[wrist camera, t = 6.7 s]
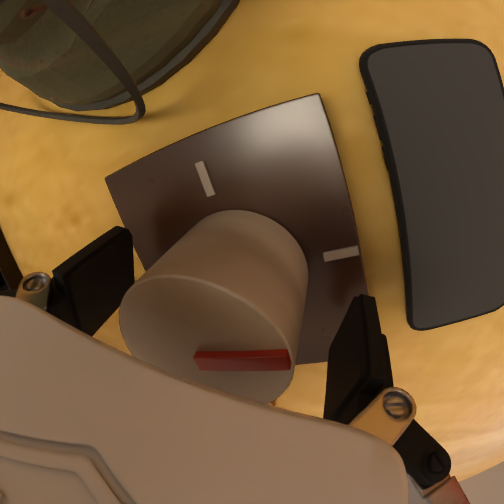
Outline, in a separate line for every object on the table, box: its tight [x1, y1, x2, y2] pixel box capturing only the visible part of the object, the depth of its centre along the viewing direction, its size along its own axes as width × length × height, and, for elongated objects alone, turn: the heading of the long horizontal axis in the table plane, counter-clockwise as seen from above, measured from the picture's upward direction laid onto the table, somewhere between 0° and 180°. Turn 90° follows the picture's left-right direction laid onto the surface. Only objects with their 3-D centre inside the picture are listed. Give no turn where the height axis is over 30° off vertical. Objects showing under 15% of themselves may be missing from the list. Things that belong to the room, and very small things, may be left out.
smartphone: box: [359, 39, 504, 331], centre depth 11 cm, size 7×1×15 cm
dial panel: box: [105, 93, 368, 365], centre depth 14 cm, size 12×10×3 cm
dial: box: [119, 210, 308, 404], centre depth 10 cm, size 6×6×5 cm
